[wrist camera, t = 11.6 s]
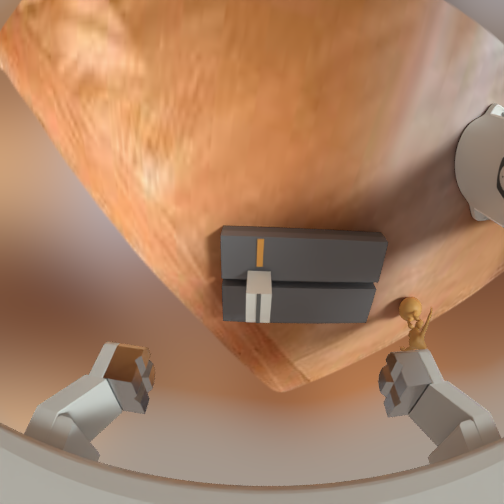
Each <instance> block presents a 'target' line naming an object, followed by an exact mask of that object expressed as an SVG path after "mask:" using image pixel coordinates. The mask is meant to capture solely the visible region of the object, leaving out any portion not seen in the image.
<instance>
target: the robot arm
mask: <svg viewBox="0 0 504 504" xmlns="http://www.w3.org/2000/svg"><path fill="white" fill-rule="evenodd" d="M501 114H502V116H501ZM455 174H456V180H457V183H458V186H459V189H460V191H461V193H462V194H463V196H464V197H465V198H466V200H467V201H468V203H469V205H470V210H471V214H472V217H473V218H474V219H475V220H477V221H484V220H492V221H494V222H495V223H497V224H498V225H500V226H502V227H503V228H504V107H502V106H501V105H499V104H496V103H493V104H492V105H491V106H490V107H489V109H488V110H487V112H486V113H485V114H484V115H483V116H481V117H479V118H477V119H475V120H474V121H473V122H471V123H470V124H469V125H468V127H467V128H466V129H465V131H464V132H463V134H462V136H461V138H460V140H459V143H458V146H457V150H456V156H455ZM150 355H151V354H150V351H149V348H147V347H141V346H135V345H128V344H122V343H115V342H109V341H107V342H106V343H105V344H104V346H103V347H102V349H101V351H100V353H99V355H98V357H97V359H96V361H95V363H94V365H93V367H92V370H91V372H90V374H89V375H84V376H82V377H81V378H79V379H78V380H76V381H75V382H73V383H72V384H70V385H69V386H67V387H66V388H64V389H63V390H61V391H60V392H58V393H57V394H55V395H53V396H52V397H51V398H49V399H47V400H46V401H45V402H43V403H41V404H40V405H38V406H37V408H36V410H35V412H34V414H33V416H32V418H31V420H30V423H29V425H28V427H27V429H26V431H25V433H24V434H22V433H20V432H18V431H16V430H14V429H12V428H10V427H8V426H6V425H4V424H2V423H0V504H504V437H503V438H501V436H500V434H499V431H498V429H497V427H496V424H495V422H494V420H493V418H492V416H491V414H490V412H489V411H488V410H486V409H485V408H484V407H482V406H481V405H480V404H478V403H477V402H476V401H474V400H473V399H472V398H470V397H469V396H467V395H466V394H465V393H463V392H462V391H460V390H459V389H458V388H456V387H455V386H454V385H452V384H451V383H450V382H448V381H444V379H443V378H442V375H441V373H440V371H439V369H438V367H437V365H436V363H435V361H434V359H433V357H432V355H431V353H430V351H429V350H428V349H421V350H410V351H400V352H391V353H390V354H388V356H387V358H386V362H387V365H385V366H384V367H383V368H382V369H381V371H380V374H379V381H378V382H379V389H380V392H381V394H383V395H384V396H385V397H386V399H385V401H384V406H385V409H386V413H387V415H388V417H395V416H402V415H409V417H410V418H411V419H412V420H413V421H414V422H415V423H416V424H417V425H418V426H419V427H420V429H422V431H423V432H424V433H425V434H426V435H427V436H428V437H429V438H430V439H431V440H432V441H433V442H434V443H435V444H436V445H437V446H438V447H437V448H436V449H435V450H434V451H433V452H432V453H431V454H430V455H429V457H428V459H429V463H430V464H429V465H425V466H421V467H418V468H414V469H410V470H406V471H401V472H397V473H392V474H387V475H382V476H377V477H372V478H365V479H359V480H351V481H344V482H336V483H326V484H313V485H299V486H298V485H296V486H241V485H224V484H212V483H202V482H194V481H185V480H179V479H172V478H166V477H160V476H154V475H150V474H145V473H140V472H136V471H131V470H127V469H123V468H119V467H115V466H111V465H108V464H104V463H100V462H98V459H99V456H100V455H99V452H98V451H97V450H96V449H95V447H94V446H93V445H92V444H91V443H90V442H91V440H93V439H94V438H95V437H96V436H97V435H98V434H99V433H100V432H101V431H102V430H104V428H106V427H107V426H108V425H109V424H110V423H111V422H112V421H113V420H114V419H115V418H116V417H117V416H119V414H121V413H122V410H123V411H129V412H135V413H142V414H145V412H146V409H147V405H148V402H149V396H148V394H147V393H148V392H149V391H150V390H151V389H152V388H153V385H154V379H155V369H154V365H153V363H152V362H151V361H150V360H149V358H150Z"/></svg>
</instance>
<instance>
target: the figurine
mask: <svg viewBox="0 0 504 504" xmlns="http://www.w3.org/2000/svg"><path fill="white" fill-rule="evenodd" d="M421 311H422V306H421V303H420V302H419V300H418V299H416V298H414V297H407V298H405V299H404V300H403V301H402V302H401V303H400V305H399V314H400V316H401V317H402V318H403V319H404V320H406V321H408V322H407V323H408V327H409V328H411V329H412V330H411V331H409V345H410V346H409V347H408V348H406V349H405V350H404V348H402V347H400V350H401V351H410V350H414V349H419V350H421V349H427V346H426V344H425V342H424V335H425V332H426V330H427V327H428V324H429V321H430V318H431V316H432V308H431V311H430V314H429V315H428V318H427V321H426V323H425V325H424V327H423V329H422V331H421V332H419V330H418V329H420V328H421V327H422V325H423V321H422V320H421V319H420V318H419V316H420V314H421ZM414 320H416V321H418V322H416V324H415V327H413V325H412V324H411V323H410V322H411V321H414Z"/></svg>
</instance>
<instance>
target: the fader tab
mask: <svg viewBox="0 0 504 504" xmlns="http://www.w3.org/2000/svg"><path fill="white" fill-rule="evenodd" d="M271 299H272V286H271V271H248V274H247V288H246V322H256V323H270V312H271Z"/></svg>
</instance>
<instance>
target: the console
mask: <svg viewBox="0 0 504 504" xmlns="http://www.w3.org/2000/svg"><path fill="white" fill-rule="evenodd" d="M387 246H388V241H387V240H386V238H385V237H384V236H383V234H382V233H380V232H362V231H344V230H324V229H302V228H279V227H251V226H223V228H222V232H221V271H222V278H223V283H222V302H223V321H238V322H246V288H247V274H248V271H271V286H272V299H271V312H270V323H366V321H367V318H368V315H369V312H370V308H371V305H372V302H373V298H374V295H375V292H376V288H375V286H374V284H373V282H378V281H379V277H380V274H381V270H382V266H383V262H384V258H385V254H386V250H387Z"/></svg>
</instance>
